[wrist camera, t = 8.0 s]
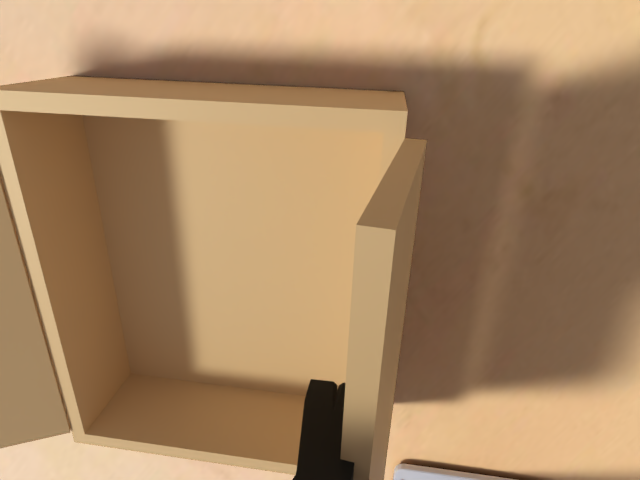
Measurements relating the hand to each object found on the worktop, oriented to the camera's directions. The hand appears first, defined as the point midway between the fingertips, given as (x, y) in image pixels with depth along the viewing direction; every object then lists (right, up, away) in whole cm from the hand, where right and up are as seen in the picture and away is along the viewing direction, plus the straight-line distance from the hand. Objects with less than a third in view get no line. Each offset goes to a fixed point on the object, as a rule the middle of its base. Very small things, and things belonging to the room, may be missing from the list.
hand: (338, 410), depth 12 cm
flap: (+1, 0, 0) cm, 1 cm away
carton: (-4, +4, +8) cm, 10 cm away
